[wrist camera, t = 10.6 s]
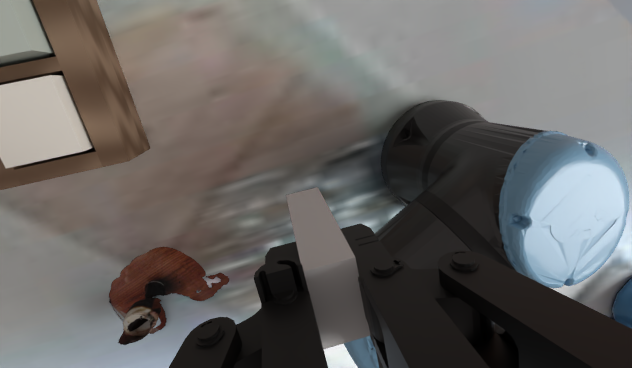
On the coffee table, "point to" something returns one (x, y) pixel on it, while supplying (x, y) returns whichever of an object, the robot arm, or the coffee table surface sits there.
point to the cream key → (40, 121)
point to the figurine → (156, 289)
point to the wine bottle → (623, 305)
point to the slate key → (22, 33)
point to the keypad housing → (81, 92)
